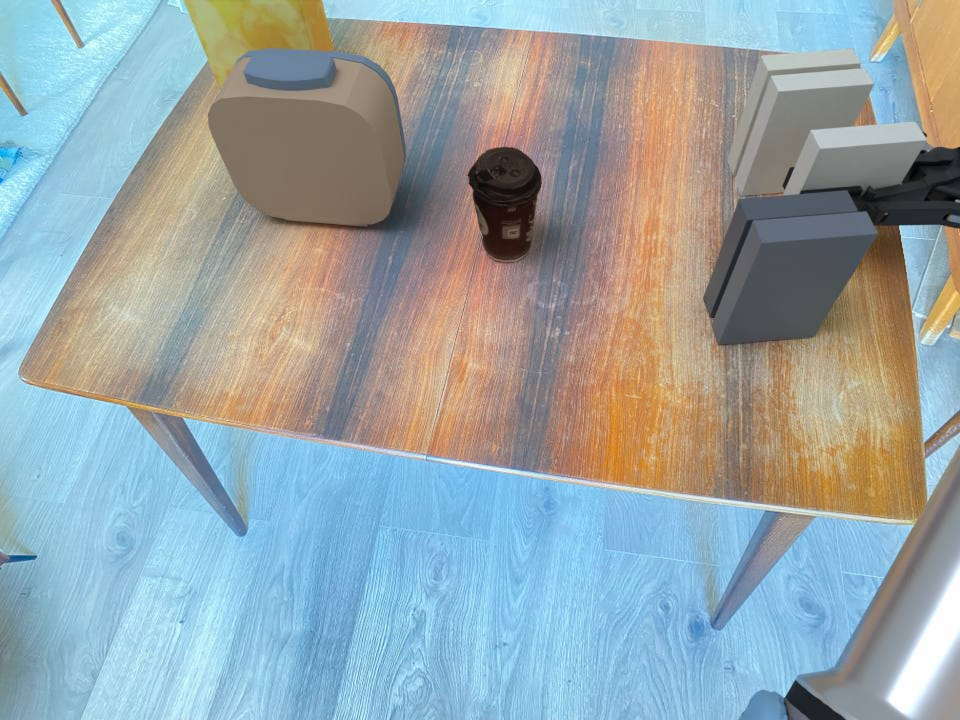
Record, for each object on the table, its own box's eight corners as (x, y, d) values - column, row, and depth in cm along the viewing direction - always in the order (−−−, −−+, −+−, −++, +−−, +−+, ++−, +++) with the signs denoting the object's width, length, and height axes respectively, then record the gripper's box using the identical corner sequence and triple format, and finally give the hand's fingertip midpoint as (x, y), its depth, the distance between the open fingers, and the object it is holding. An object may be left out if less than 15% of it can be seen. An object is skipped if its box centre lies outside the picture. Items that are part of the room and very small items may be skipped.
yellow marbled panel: (350, 59, 113) (314, -104, 93) (327, 106, 106) (283, -58, 86) (251, 52, 115) (195, -108, 95) (222, 97, 109) (156, -64, 89)
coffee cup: (467, 265, 87) (459, 188, 76) (478, 218, 91) (472, 138, 81) (535, 272, 86) (537, 194, 75) (543, 224, 90) (546, 144, 80)
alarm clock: (413, 185, 96) (389, 39, 78) (399, 235, 90) (369, 91, 72) (273, 175, 98) (218, 31, 80) (251, 223, 93) (187, 81, 75)
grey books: (813, 337, 79) (878, 233, 64) (717, 345, 79) (761, 243, 64) (794, 290, 83) (851, 182, 68) (703, 297, 83) (741, 191, 68)
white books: (822, 189, 91) (874, 83, 78) (740, 196, 92) (778, 91, 78) (805, 154, 95) (852, 47, 82) (726, 161, 95) (760, 55, 82)
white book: (862, 247, 83) (927, 139, 70) (771, 254, 83) (820, 148, 70) (853, 229, 85) (915, 121, 72) (764, 236, 85) (810, 129, 72)
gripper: (1017, 249, 75) (804, 266, 76) (952, 151, 84) (761, 167, 84) (1062, 198, 69) (829, 217, 69) (987, 99, 78) (781, 116, 78)
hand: (792, 190), depth 77 cm, fingers closed on white book, 3 cm apart
